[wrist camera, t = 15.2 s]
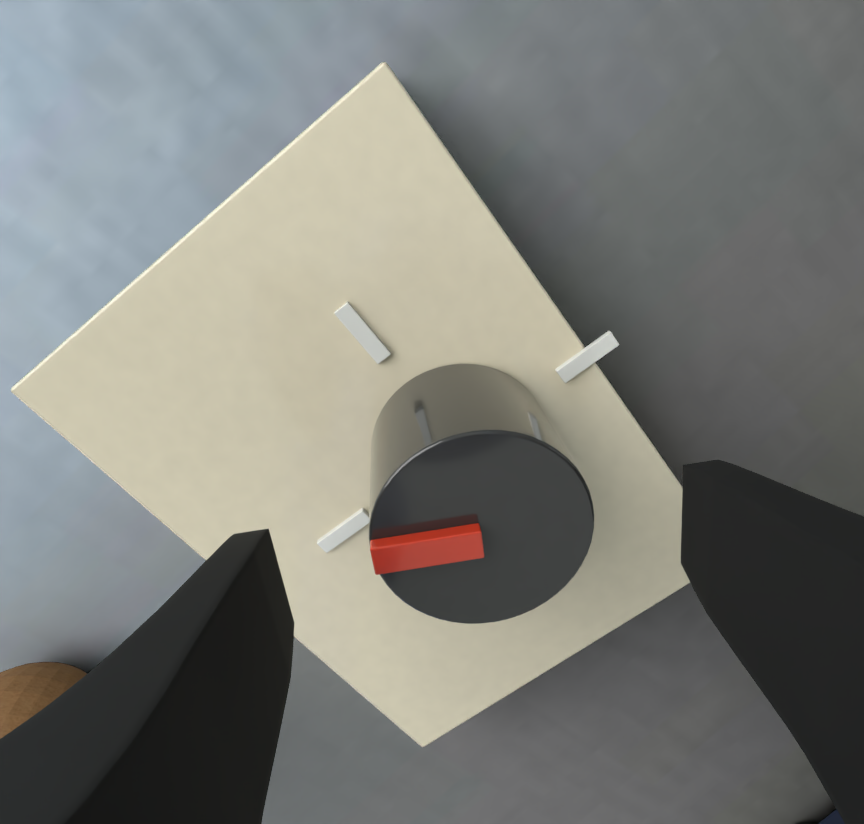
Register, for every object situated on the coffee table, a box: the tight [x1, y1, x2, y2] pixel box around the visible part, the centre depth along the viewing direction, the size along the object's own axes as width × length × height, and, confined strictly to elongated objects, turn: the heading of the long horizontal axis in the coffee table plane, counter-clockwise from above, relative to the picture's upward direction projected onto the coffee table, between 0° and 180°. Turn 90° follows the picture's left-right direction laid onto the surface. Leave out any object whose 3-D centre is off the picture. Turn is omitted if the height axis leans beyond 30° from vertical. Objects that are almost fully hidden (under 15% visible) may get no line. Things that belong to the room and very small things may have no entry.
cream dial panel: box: [11, 62, 690, 747], centre depth 16 cm, size 14×11×3 cm
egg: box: [0, 662, 87, 739], centre depth 17 cm, size 4×4×6 cm
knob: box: [369, 364, 594, 624], centre depth 13 cm, size 4×4×4 cm
